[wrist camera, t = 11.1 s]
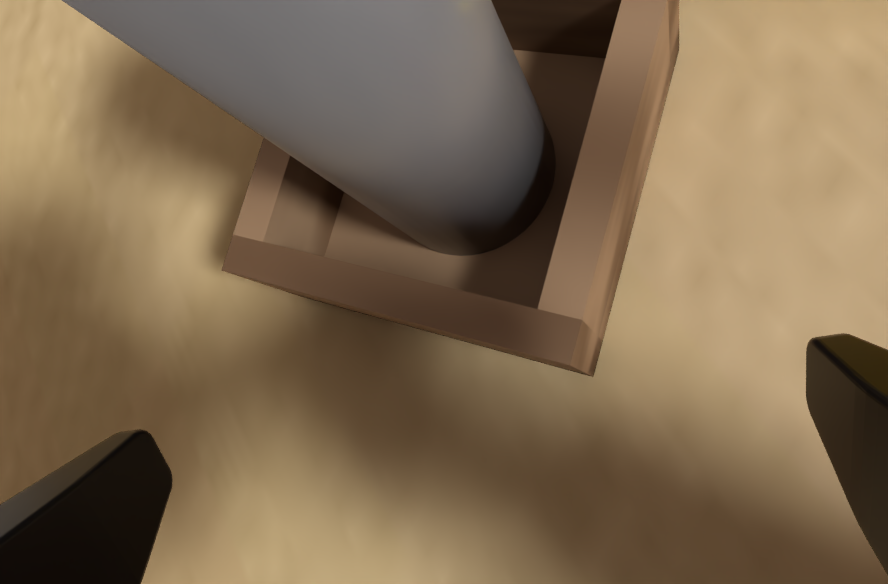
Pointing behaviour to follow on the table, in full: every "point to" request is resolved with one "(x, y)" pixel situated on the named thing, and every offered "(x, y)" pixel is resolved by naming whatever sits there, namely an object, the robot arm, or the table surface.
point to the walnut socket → (537, 248)
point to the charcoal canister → (369, 101)
